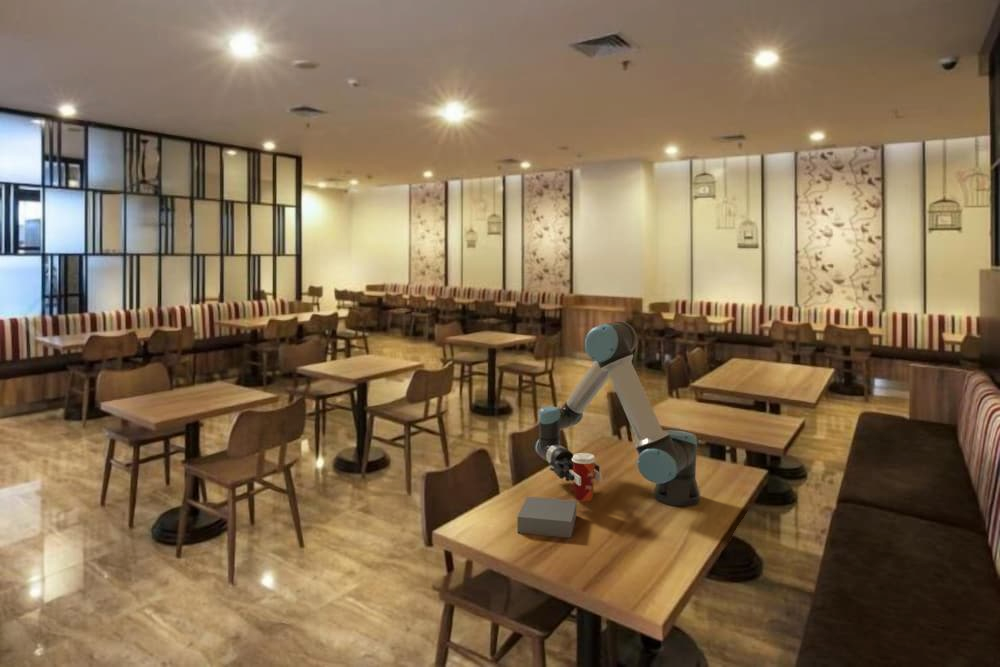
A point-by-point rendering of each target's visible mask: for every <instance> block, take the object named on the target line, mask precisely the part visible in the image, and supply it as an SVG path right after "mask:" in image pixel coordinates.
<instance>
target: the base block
mask: <svg viewBox="0 0 1000 667" xmlns="http://www.w3.org/2000/svg"><path fill="white" fill-rule="evenodd" d="M577 501H578V500H574V499H573V500H572V499H571V500H570V499H559V498H549V497H536V496H526V498H525V500H524V502H523V504H522V506H521V509H520V510H519V512H518V515H517V533H518V532H520V533H519V534H525V533H529V535H536V534H537V535H538V536H548V537H559V538H566V539H567V538H569V539H570V538H572V535H573V532H574V528H575V524H576V518H577V503H578V502H577Z"/></svg>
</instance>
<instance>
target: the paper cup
mask: <svg viewBox="0 0 1000 667" xmlns="http://www.w3.org/2000/svg"><path fill="white" fill-rule="evenodd" d="M572 461H573V470H572V471H573V472H575V473H576V474H578V475H579V476H580V477H581V486H579V485H577V484H576V483H575V482H573V492H574V499H575V501H579V502H589V501H592V499H593V495H594V492H593V491H594V480H595V479H594V466H595V464H596V463H595V462H596V461H597V460H596V456H595V455H594V454H592V453H589V452H588V453H587V452H580V453H579V452H578V453H573V458H572Z"/></svg>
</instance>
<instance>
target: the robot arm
mask: <svg viewBox="0 0 1000 667" xmlns="http://www.w3.org/2000/svg"><path fill="white" fill-rule="evenodd" d="M637 342H638V337H637V333H636V330H635V328H633V326H632V325H630V324H629V323H627V322H625V321H614V322H607V323H601V324H599V325H597V326H595V327H592V328H591V329H590V330H589V331H588V332H587V334H586V337H585V339H584V347H585V352H586V354H587V356H589V358H590V359H591V360H593V363H592V364H591V365H590V367H589V369H588V370H586V372H585V374H584V376H583V377H582V379H580V381H579V383H578V384H577V385H576V386H575V388H574V390H572V392H571V394H570V395H569V397H568V398H567V400H566V401H565V403H564V404H563V405H562V406H561V407H560V408H559V407H557V406H544V407H541V408H540V409H539V413H538V415H539V416H538V429H539V430H538V431H539V432H538V433H539V434H538V435H539V437H538V440H537V441H536V443H535V452H536V453H537V455H538V456H539V457H540V458H541V459H543V460H544V461H546V462H548V464H549V469H550V471H552V472H553V473H555V475H556V476H557V477H558V478H559V479H565V481H566V482H569V481H572V482H573V483H574V482H575V483H576V484H577V485H579V486H581V477H580V476H579V475H578V474H576V473H575V472H573V461H572V458H573V455H574V453H572V452H571V451H570V450H568V449H567V448H566V447H564V446H562V445H561V431H562V430H565V429H567V428H569V427H572V426H576V425H577V424H578V423H580V422H581V420H582V419H583V417H584V416H583V414H584V412H585V410H586V409H587V408H588V407H589V405H590V404H591V403H592V401H593V400H594V398H596V395H597V394H598V393H599V392H600V390H601V389H602V388H603V387H604V385H605V384H606V382H607V381H608V380H609V379H610V381H611V384H612V386H613V388H614V391H615V393H616V395H617V397H618V400H619V402H620V404H621V406H622V408H623V411H624V413H625V415H626V418H627V420H628V422H629V424H630V426H631V428H632V430H633V434H634V435H635V438H636V444H635V446H634V447H635V449H636V451H637V454H638V457H637V461H636V462H637V464H636V465H637V469H638V472H639V473H640V474H641V476H642V477H643V478H644V479H645V480H647V481H649V482H651V483H653V484H655V486H654V491H653V498H655V500H656V501H658V502H660V503H663V504H665V505H669V506H675V507H689V506H694V505H697V504H699V503H700V500H701V492H700V489H699V486H698V483H697V482H698V481H697V479H696V468H697V454H698V453H697V452H698V451H697V450H698V443H697V442H698V440H697V439H698V438H697V436H696V435H695V434H694V433H691V432H689V431H688V432H687V431H681V430H673V429H671V430H670V429H665V430H663V428H662V426H661V424H660V422H659V420H658V417H657V415H656V413H655V411H654V408H653V407H652V404H651V401H650V400H649V398H648V395H647V394H646V391H645V389H644V387H643V385H642V382H641V380H640V378H639V376H638V374H637V371H636V370H635V368H634V365H633V362H632V361H633V358H634V353H633V351H634V349H635V348H636V346H637ZM594 480H596V481H597V482H599V483H600V484H601V483H603V473H601V472H600V465H598V464H596V463H595V466H594Z"/></svg>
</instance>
